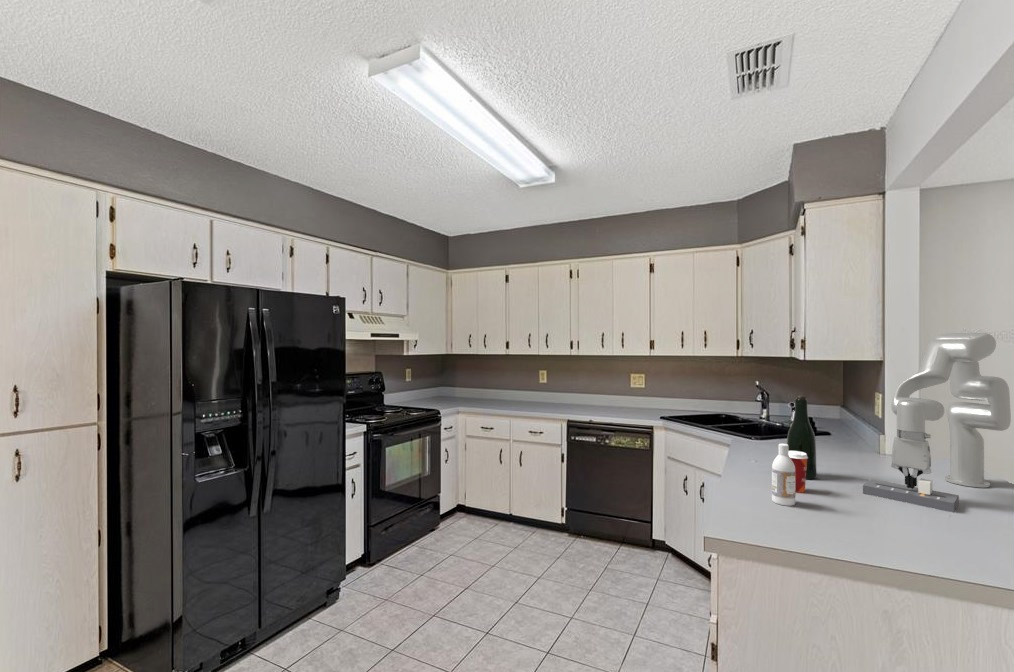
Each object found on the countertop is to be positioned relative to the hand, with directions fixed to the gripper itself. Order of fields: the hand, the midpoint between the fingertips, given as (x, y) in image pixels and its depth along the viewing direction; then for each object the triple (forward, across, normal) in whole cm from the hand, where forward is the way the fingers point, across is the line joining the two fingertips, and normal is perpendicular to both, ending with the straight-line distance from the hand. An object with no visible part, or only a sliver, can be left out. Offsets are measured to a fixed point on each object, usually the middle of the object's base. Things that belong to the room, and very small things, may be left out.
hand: (910, 487), depth 163 cm
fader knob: (+1, -4, 0) cm, 4 cm away
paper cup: (+4, +29, +21) cm, 36 cm away
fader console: (+4, 0, 0) cm, 4 cm away
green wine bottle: (+4, +34, -1) cm, 35 cm away
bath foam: (+4, +27, +39) cm, 48 cm away
